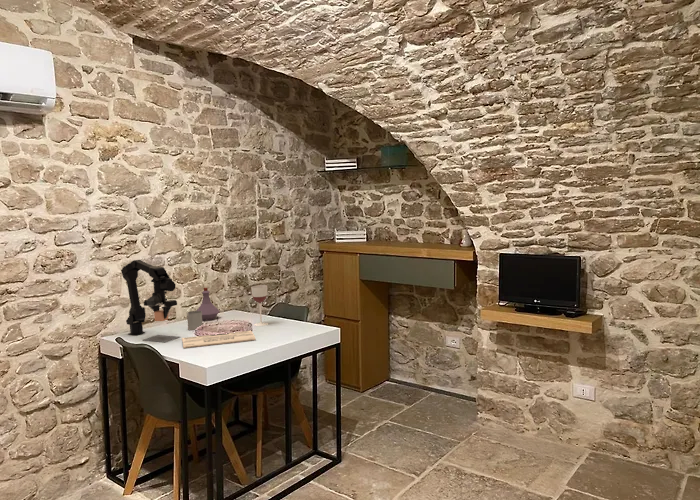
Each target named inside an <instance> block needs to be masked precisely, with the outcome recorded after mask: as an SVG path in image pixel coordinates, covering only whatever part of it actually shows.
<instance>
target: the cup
mask: <svg viewBox="0 0 700 500" xmlns="http://www.w3.org/2000/svg"><path fill="white" fill-rule="evenodd" d="M186 314H187V317H186V318H187V330H188V331H194V330H195V329H196V328H197V327H199V326H201V325H203V320H202V311H197V310H191V311H187V313H186ZM203 326H204V325H203ZM195 331H196V330H195Z"/></svg>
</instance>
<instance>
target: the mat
mask: <svg viewBox="0 0 700 500" xmlns="http://www.w3.org/2000/svg"><path fill="white" fill-rule="evenodd" d="M176 339H180V336H175V335H168V334H166V335H165V334H156V335H152V336H150V337H147V338H143V339H142V341H145V342H156V343H168V342H171V341H173V340H176Z"/></svg>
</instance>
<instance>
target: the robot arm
mask: <svg viewBox="0 0 700 500" xmlns="http://www.w3.org/2000/svg"><path fill="white" fill-rule="evenodd" d="M139 271H142V272H145V273H146V274H147V273H148V276H149V277H150V278H151V280H150V282H151V283H153V284H152V285H153V292H152V294H151V295H152V296H150V297H149V298H147V299H144V301H143V306H144V307H143V306H142V305H141V301H140V296H139V295H140V294H139V291H138V284H137V278H138V276H139ZM120 272H121V274H122V277H123V280H125V282H126V286H127V291H128V296H129V297H128V298H129V303H130V309H129V311H128V314H129V315H128V317H127V319H126V320H125V322H126V325H128V326H129V333H128V335H131V336H138V335H142V334H145V333H146V331H144V328H143V323H145V321H146V317H147V316H146V314H147V313H146V308H145V307H147V306H148V308H150V309H151V310H152V311H153V313H154V312H156V311H159V310H160V306H161V305H162V306H161V308H162V309H161V310H163V312H164V319H166V317H167V315H168V316H169V312H170V311H171V308H172V307H174V306H178V301H177V300H176V299H169V300H168V298H166V294H167V292H173V291H174V290H175V289H176V283H175V281H173V279H172V278H170V275H169V274H168V272H167V270H166V269H165V267H163V266H157V265H155V266H154V265H152V264H149V263H148V262H145V261H143V260H142V259H134V260H132V261H131V262H129V263H128V264H125V266H123V267H122V269H121V271H120Z"/></svg>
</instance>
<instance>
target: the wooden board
mask: <svg viewBox="0 0 700 500" xmlns="http://www.w3.org/2000/svg"><path fill="white" fill-rule="evenodd" d="M226 333H227V334H224V333H218V334H217V333H216V334H217V335H215V334H206V335H197V336H187V337H181V341H182V346H183V347H182V348H183V349H190V348H198V347H199V348H200V347H207V346H218V345H225V344H233V343H234V344H235V343H244V342H252V341H256V336H255V334H254V333H253V331H252V330H243V331H235V333H233V332H226Z"/></svg>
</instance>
